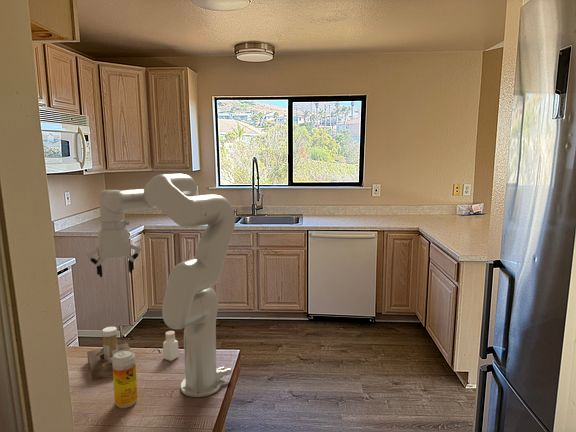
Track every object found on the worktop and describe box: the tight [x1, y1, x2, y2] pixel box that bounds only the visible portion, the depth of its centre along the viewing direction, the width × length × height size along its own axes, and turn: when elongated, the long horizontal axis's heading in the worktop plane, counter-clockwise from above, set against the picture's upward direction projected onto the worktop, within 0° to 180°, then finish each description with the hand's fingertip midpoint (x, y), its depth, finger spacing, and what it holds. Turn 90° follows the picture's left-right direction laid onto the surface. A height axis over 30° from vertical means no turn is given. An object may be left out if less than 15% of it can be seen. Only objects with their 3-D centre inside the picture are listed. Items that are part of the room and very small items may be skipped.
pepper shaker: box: [162, 330, 180, 362], centre depth 140 cm, size 4×4×10 cm
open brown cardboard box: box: [86, 342, 131, 382], centre depth 135 cm, size 13×14×6 cm
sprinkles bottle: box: [101, 326, 118, 360], centre depth 134 cm, size 5×5×13 cm
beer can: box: [112, 349, 138, 409], centre depth 114 cm, size 6×6×15 cm
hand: (115, 274), depth 138 cm, fingers open, 9 cm apart
